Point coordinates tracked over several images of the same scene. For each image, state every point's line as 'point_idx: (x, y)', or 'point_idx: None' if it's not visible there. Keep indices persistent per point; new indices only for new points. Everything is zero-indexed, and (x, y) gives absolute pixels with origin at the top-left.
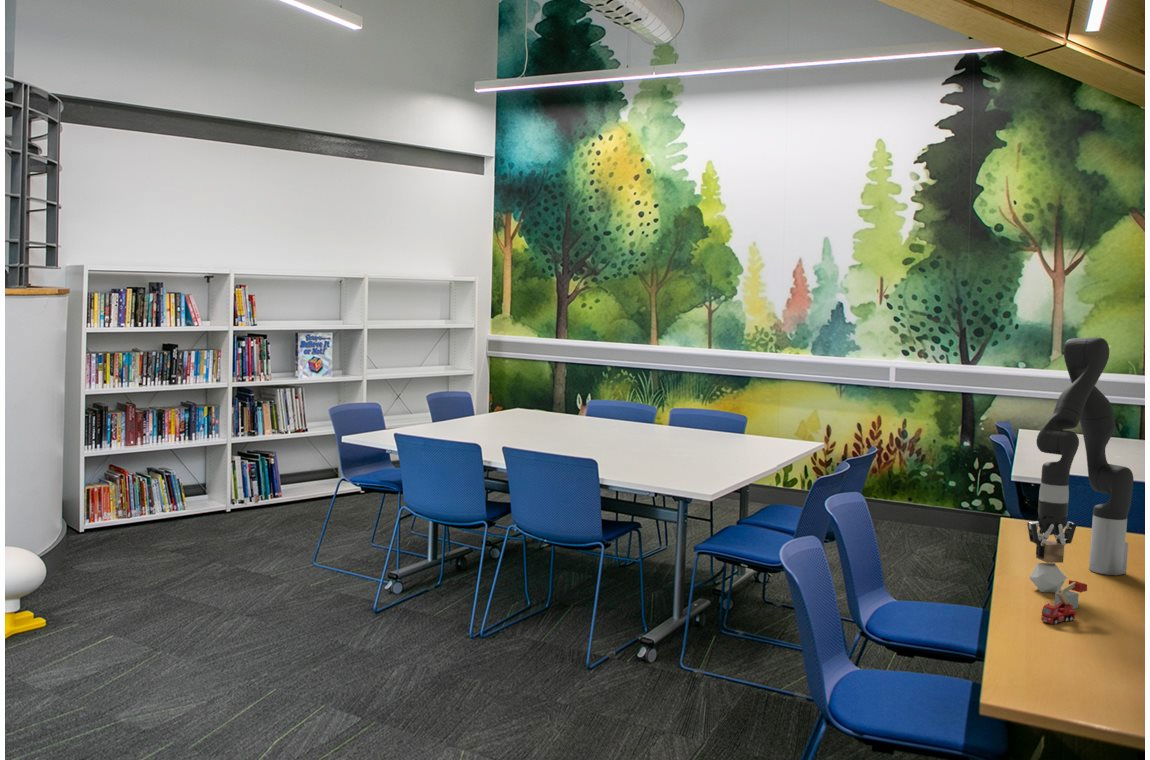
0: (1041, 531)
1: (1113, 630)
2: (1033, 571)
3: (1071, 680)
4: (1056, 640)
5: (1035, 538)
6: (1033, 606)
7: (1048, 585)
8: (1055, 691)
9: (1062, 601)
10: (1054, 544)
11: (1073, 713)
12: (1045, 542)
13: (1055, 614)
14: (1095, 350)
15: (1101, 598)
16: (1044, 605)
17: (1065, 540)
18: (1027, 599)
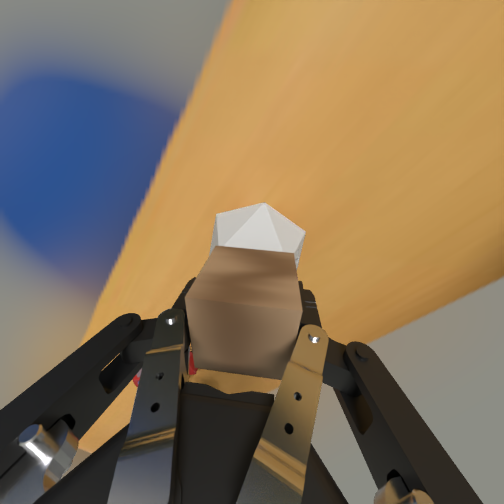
0: (160, 389)
1: (228, 390)
2: (216, 232)
3: (111, 432)
4: (135, 392)
5: (113, 376)
6: (164, 309)
7: None
8: (91, 436)
9: None
10: (241, 364)
11: (93, 449)
12: (215, 332)
13: None
14: None
15: (347, 299)
16: (133, 379)
17: (327, 382)
18: (172, 277)
